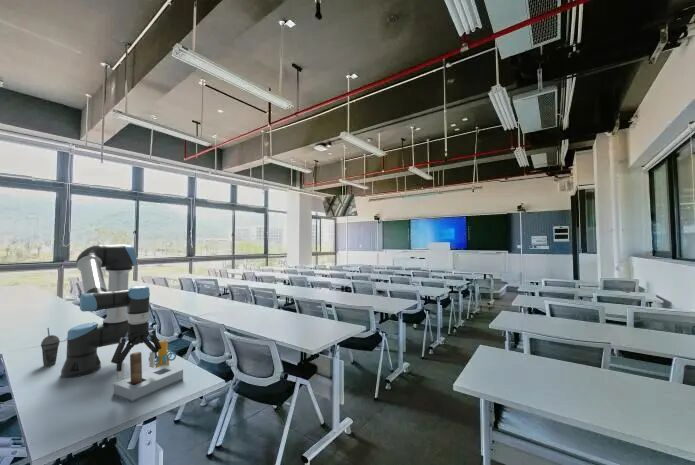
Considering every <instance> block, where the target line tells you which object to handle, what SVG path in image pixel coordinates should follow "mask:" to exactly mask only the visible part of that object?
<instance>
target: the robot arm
mask: <svg viewBox="0 0 695 465" xmlns="http://www.w3.org/2000/svg"><path fill="white" fill-rule="evenodd" d="M75 262H76V263H75V264H76V268H77V270H79V271H80V275H81V276H80V277H81V281H82V286H83V292H84V293H83V294H81V295H80V297H79V310H80V311H81V312H84V313H85V312H94V311H95V312H96V311H102V310H106V317H105V318H104V319H103V320H102V323H101V324H99V323H98V322H96V321H93V322H86V323H83V324H78V325H76V326H75V325H74V326H73V327H71V328H70V329H68V330H67V335H66V359H65V361H64V363H63V365H62V368H61V371H60V377H61V378H77V377H81V376H86V375H88V374H92V373H95V372H97V371H99V370H100V369H101V367H102V366H101V365H102V362H101V360H100V357H99V355H98V348H102V347H106V346H107V347H108V346H111V345H117V346H116V349H115V352H114V354H113V356H112V357H111V361H110V362H111V363H112V364H115V366H116V368H115V369H116V372H117V374H118V375H117V376H118V379H120V380H125V362H124V360H125V359H126V358H127V356H128V354H130V351H131V350H132V348H134V347H135V346H137V345H139V344H145V346H146V347H147V348H148V349H149V350H150V352H149V357H150V362H149V363H148V364H149V367H150V368H152V369H154V368H155V367H156V365H155V363H156V362H155V360H156V359H157V356H158V351H159V349H161V345H160V343H159V341H160V340H159V338H158V337H157V331H156V330H154V329H150V326H149V325H150V321H149V320H150V296H151V294H150V293H151V292H150V287H149V286H148V285H147V286H144V285H139V286H131V287H130V288H129V273H130V272H131V271H132V270H133V267H134V266H136V265H137V253H136V250H135V247H133V246H132V245H131V244H130V245H129V244H97V245H96V244H95V245H92V246H89V247H87V248H86V249H84V250H82V251H81V253H79V255H78V256H77V258H76V261H75ZM102 268H105V271H106V272H107V273H108V286H106V282H105V279H104V275H103V271H102ZM107 287H108V289H107ZM149 336H150V339H151V341H152V342H151V341H150V340H149V338H148V337H149Z"/></svg>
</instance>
